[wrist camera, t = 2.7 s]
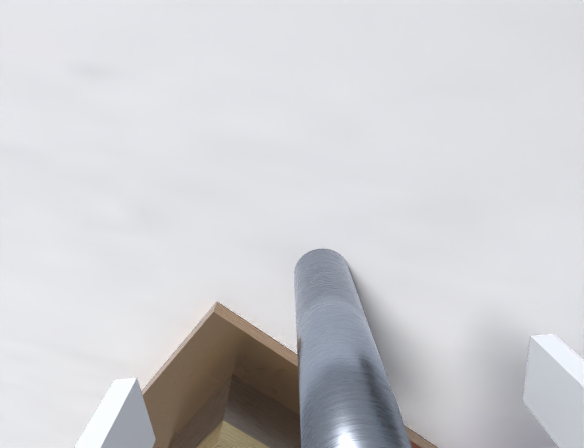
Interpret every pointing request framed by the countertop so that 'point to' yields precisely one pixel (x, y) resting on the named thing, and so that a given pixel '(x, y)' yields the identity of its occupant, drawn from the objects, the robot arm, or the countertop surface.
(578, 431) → the robot arm
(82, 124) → the countertop surface
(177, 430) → the square socket plate
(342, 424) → the pin
